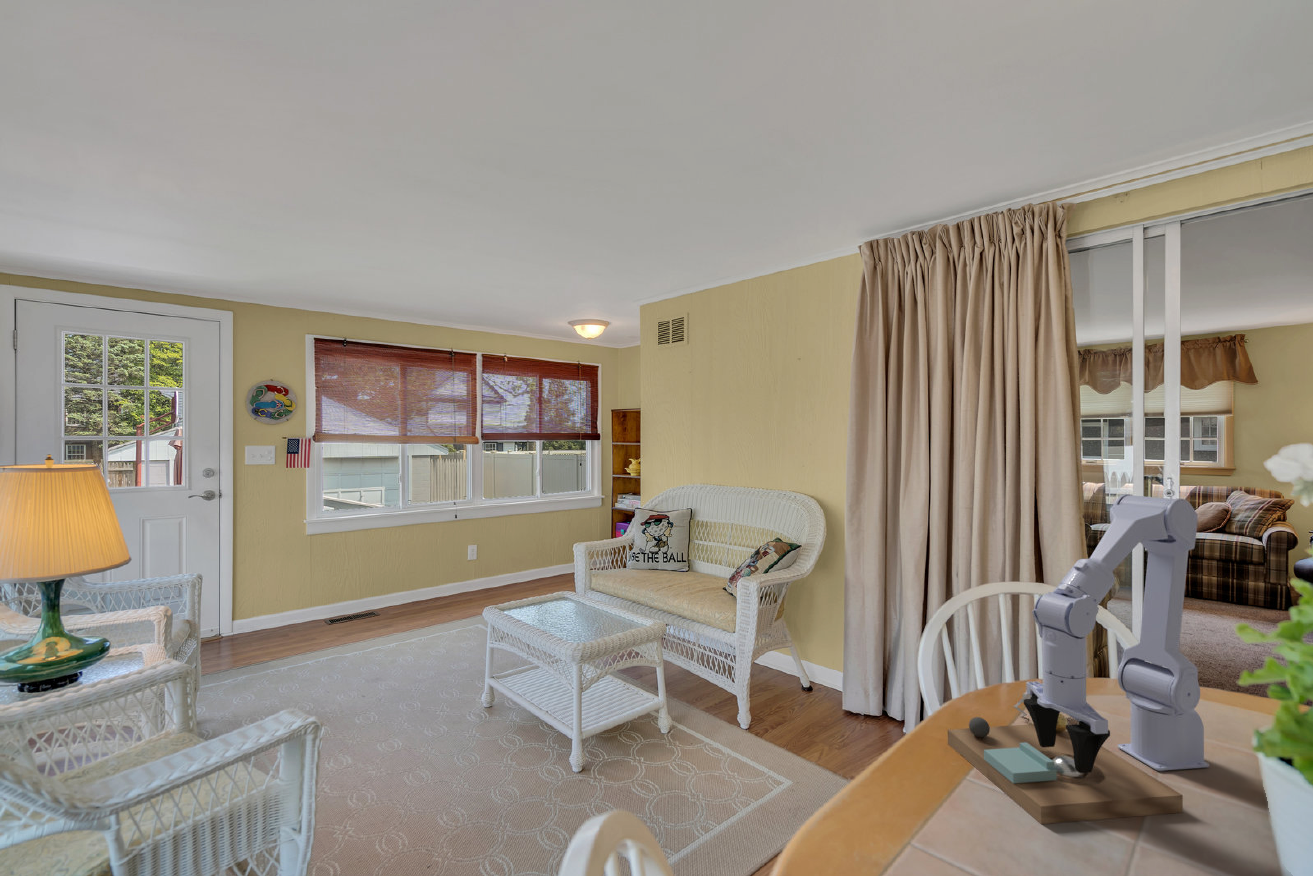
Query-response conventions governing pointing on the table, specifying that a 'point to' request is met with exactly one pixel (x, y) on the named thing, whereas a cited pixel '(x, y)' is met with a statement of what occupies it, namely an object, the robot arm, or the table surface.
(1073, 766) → the steel ball
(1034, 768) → the cover
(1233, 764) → the table surface
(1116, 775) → the wooden board
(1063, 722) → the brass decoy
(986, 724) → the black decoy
